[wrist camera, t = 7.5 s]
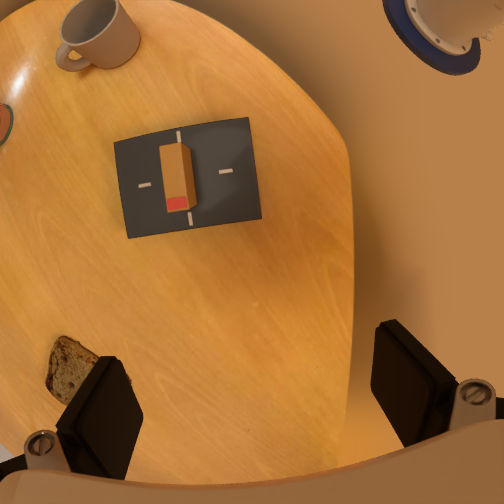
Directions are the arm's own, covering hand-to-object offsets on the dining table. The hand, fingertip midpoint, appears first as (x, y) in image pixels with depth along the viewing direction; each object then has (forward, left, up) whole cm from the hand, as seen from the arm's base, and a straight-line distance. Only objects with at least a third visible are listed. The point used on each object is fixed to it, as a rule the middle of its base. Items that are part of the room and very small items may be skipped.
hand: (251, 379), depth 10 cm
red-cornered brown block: (+5, -8, -23) cm, 25 cm away
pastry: (+28, +19, -26) cm, 43 cm away
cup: (+14, -27, -26) cm, 40 cm away
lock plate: (+5, -8, -26) cm, 28 cm away
